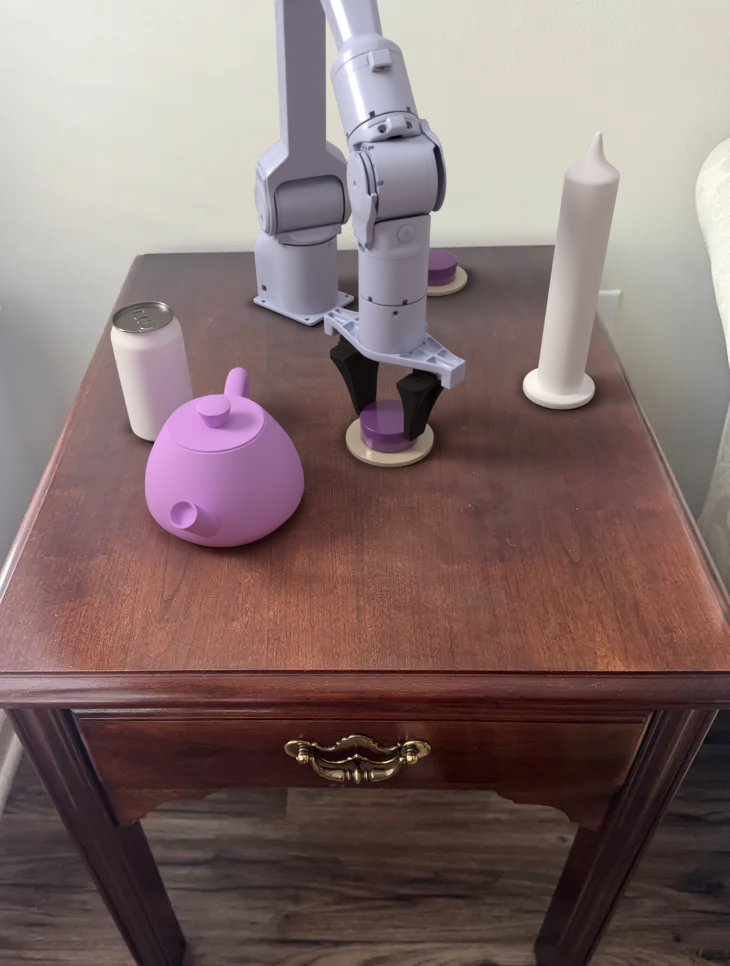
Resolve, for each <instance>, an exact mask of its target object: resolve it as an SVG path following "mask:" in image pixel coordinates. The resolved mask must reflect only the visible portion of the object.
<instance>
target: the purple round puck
mask: <svg viewBox="0 0 730 966" xmlns="http://www.w3.org/2000/svg"><path fill="white" fill-rule="evenodd" d="M457 266H458V256H457V255H456V254H455V253H454V252H452V251H449V250H445V249H441V248H429V265H428V284H427V286H443V285H447V284H449V283H451V282H453V281H454V280H455V278H456V273H457Z"/></svg>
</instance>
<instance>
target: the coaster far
mask: <svg viewBox="0 0 730 966" xmlns="http://www.w3.org/2000/svg"><path fill="white" fill-rule="evenodd" d="M467 282H468V274H467V272H466V271H465V269H463V268H462V267H460V266H459V265H457V273H456V278H455V280H454V281H453V282H451V283H449V284H447V285H443V286H427V297H440V296H447V295H452V294H455V293H457V292H459V291H460V290H462V289H463V288H465V286H466V285H467Z"/></svg>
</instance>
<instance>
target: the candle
mask: <svg viewBox="0 0 730 966" xmlns="http://www.w3.org/2000/svg"><path fill="white" fill-rule="evenodd" d="M603 140H604V139H603V132H602V131H596V133H594V137H593V140H592V142H591V144H590V147H589V150H588V152H587V153H586V155H585V156H584V158H582V159H581V160H579V161H578V162H576V163H574V164H573V165H571V166H569V167H568V168H567V169H566V170H565V172H564V177H563V179H564V180H563V185H562V193H561V201H560V207H559V215H558V222H557V228H556V229H557V230H556V237H555V243H554V250H553V259H552V266H551V272H550V280H549V287H548V294H547V302H546V309H545V316H544V324H543V330H542V336H541V337H542V338H541V346H540V352H539V360H538V366H537V367H536V368H535V369H533V370H531V371H529V372H528V373H527V374H526V375H525V377H524V379H523V382H522V390H523V393H524V395H525V397H526V398H528V399H529V400H530V401H531V402H533V403H534V404H536V405H538V406H541V407H543V408H548V409H552V410H572V409H576V408H579V407H582V406H585V405H587V404H588V403H589V402H590V401H591V400H592V399H593V398H594V395H595V391H596V385H595V382H594V381H593V379H592V378H591V377H590V376H589V375H588V374H587V373H585V371H586V366H587V360H588V354H589V350H590V345H591V338H592V333H593V329H594V328H593V327H594V322H595V317H596V311H597V305H598V300H599V295H600V289H601V283H602V277H603V272H604V267H605V262H606V256H607V251H608V244H609V239H610V235H611V229H612V224H613V217H614V212H615V207H616V202H617V196H618V190H619V184H620V180H621V173H620V171H619V169H617V168H616V166H613V164H612V163H610V162H609V161H608V160H607V159H606V155H605V153H604V141H603Z"/></svg>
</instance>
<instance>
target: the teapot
mask: <svg viewBox="0 0 730 966" xmlns="http://www.w3.org/2000/svg"><path fill="white" fill-rule="evenodd" d="M250 389H251V388H250V377H249V374H248V372H247V370H246V369H245V368H243V367H238V366H237V367H234V368H232V369H231V370H230V371H229V373H228V375H227V377H226V381H225V385H224V391H223V393H222V394H221V393H220V394H207V395H204V396H199V397H196V398H193V400H191V401H189V402H187V403H185V404H183V405H182V406H180V407H179V408H178V409H176V410H175V411H174V412H173V413H172V414H171V416H170V417H169V418H168V420H167V421H166V423H165V424H164V426H163V428H162V429H161V431H160V433H159V435H158V437H157V439H156V441H155V442H153V445H152V448H151V451H150V452H149V456H148V459H147V462H146V468H145V477H144V490H145V491H144V495H145V501H146V505H147V508H148V511H149V513H150V515H151V516H152V517H153V519H154V520H155V521H156V523H157V524H158V525H159V526H160V527H162V529H163V530H165V531H167V532H168V533H169V534H171V535H173V536H175V537H177V538H180V539H181V540H184V541H186V542H189V543H192V544H195V545H200V546H204V547H211V548H230V547H238V546H239V547H240V546H243V545H246V544H250V543H253V542H255V541H258V540H260V539H263V538H264V537H266V536H268V535H270V534H271V533H273V532H274V531H275V530H277V529H278V528H280V527H281V526H282V525H283V524H284V523H285V522H286V521H287V520H289V518H290V517H291V516H292V515H293V514H294V513H295V512H296V510H297V509H298V506H299V504H300V502H301V500H302V497H303V494H304V491H305V490H304V489H305V474H304V469H303V465H302V462H301V458H300V456H299V453H298V451H297V449H296V447H295V444H294V443H293V441H292V439H291V438H290V436H289V435H288V433H287V432H286V431H285V429H284V428H283V427H282V426H281V425H280V424H279V423H278V422H277V421H276V419H275V418H274V417H273V416H272V415H271V414H270V413H269V412H268V411H267V410H265V408H263V406H261V405H259V404H258V403H257V402H255V401H253V400H251V395H250V394H251V390H250Z"/></svg>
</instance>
